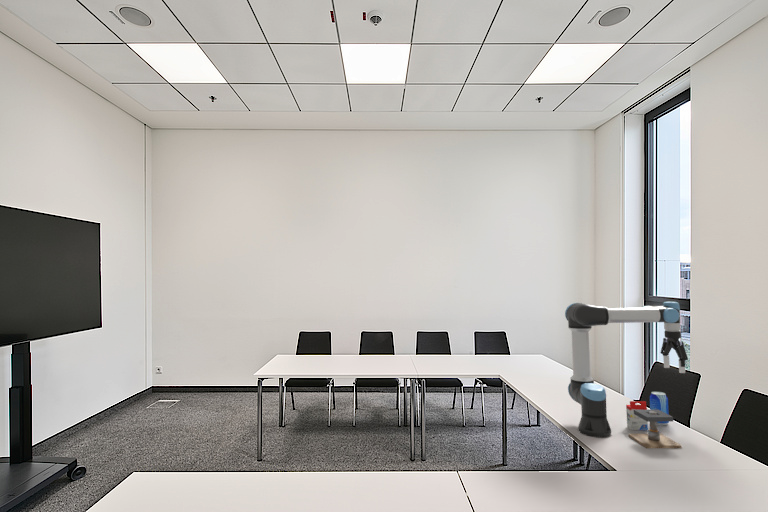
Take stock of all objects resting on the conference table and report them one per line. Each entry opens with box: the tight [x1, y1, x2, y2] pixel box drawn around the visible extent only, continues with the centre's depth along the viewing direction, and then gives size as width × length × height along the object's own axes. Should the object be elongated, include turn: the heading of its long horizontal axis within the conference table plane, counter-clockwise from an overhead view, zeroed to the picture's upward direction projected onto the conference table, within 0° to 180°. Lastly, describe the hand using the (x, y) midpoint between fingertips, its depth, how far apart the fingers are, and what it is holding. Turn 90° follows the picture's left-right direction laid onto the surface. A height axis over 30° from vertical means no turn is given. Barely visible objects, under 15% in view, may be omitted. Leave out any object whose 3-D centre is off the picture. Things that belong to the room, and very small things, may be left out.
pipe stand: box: [628, 411, 683, 449], centre depth 217 cm, size 16×16×14 cm
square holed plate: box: [634, 409, 674, 423], centre depth 217 cm, size 12×12×2 cm
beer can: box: [649, 391, 670, 426], centre depth 244 cm, size 8×8×16 cm
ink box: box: [625, 400, 649, 431], centre depth 236 cm, size 8×5×15 cm, turn 84°
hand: (674, 370), depth 244 cm, fingers open, 13 cm apart
